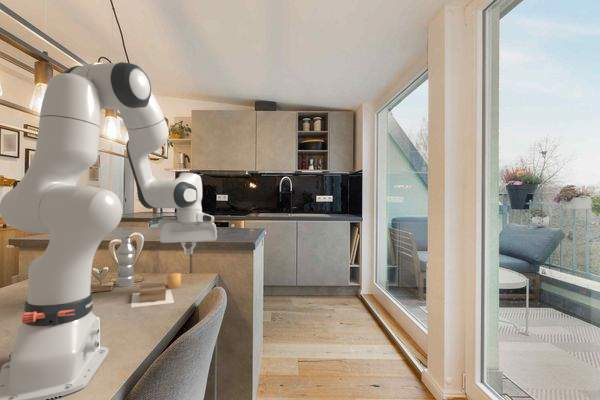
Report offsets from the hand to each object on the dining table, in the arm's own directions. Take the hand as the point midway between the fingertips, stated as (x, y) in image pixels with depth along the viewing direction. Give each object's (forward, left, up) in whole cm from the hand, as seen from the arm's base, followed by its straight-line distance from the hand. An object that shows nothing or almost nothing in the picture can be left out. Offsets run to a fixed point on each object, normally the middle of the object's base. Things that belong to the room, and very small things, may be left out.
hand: (188, 253), depth 116 cm
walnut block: (0, +12, -15) cm, 19 cm away
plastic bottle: (+21, +21, -16) cm, 34 cm away
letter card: (0, +12, -16) cm, 20 cm away
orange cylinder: (+12, +4, -16) cm, 20 cm away
